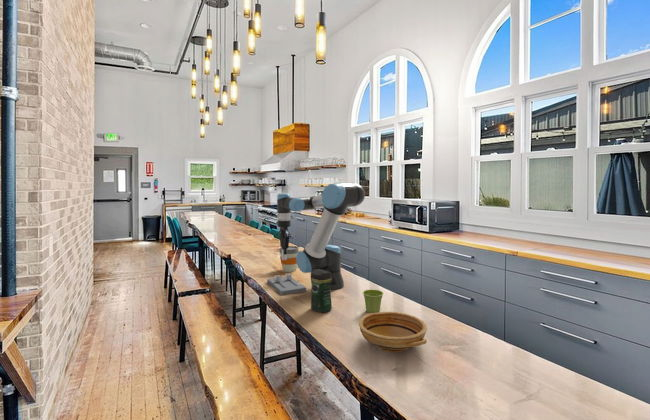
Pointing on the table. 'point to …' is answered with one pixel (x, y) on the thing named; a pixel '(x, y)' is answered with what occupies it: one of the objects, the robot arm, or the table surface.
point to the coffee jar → (321, 290)
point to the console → (286, 286)
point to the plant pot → (373, 300)
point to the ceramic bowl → (393, 330)
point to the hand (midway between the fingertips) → (284, 259)
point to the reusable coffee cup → (289, 259)
